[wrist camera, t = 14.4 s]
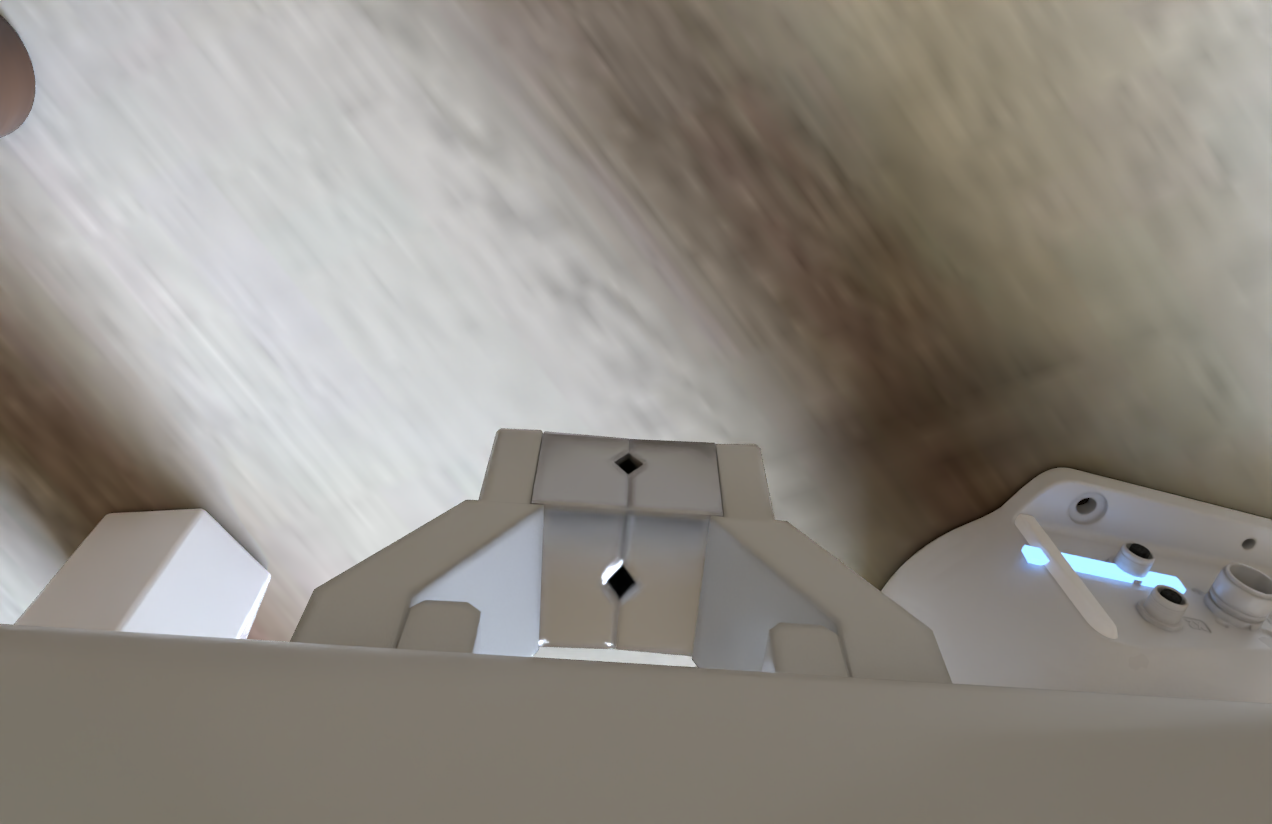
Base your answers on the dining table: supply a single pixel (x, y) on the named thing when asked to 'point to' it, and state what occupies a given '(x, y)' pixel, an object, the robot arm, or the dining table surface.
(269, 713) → the robot arm
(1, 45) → the pepper mill
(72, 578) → the jar
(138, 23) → the dining table surface
